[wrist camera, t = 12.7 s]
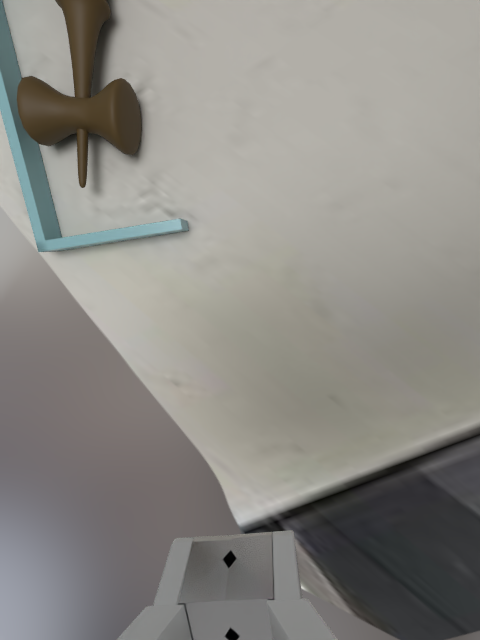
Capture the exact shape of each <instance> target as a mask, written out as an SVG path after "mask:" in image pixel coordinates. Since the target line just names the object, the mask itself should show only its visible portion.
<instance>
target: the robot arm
mask: <svg viewBox="0 0 480 640" xmlns="http://www.w3.org/2000/svg"><path fill="white" fill-rule="evenodd" d="M117 640H338V639H337V638H336V637H335V635H334V634H333V633H332V631H331V630H330V629H329V627H328V626H327V625H326V623H325V622H324V620H323V619H322V618H321V617H320V615H319V614H318V612H317V611H316V610H315V608H314V607H313V606H312V604H311V603H310V601H309V600H308V599H302V592H301V584H300V577H299V569H298V562H297V554H296V547H295V540H294V533H293V531H279V532H267V533H254V534H241V535H234V536H209V537H194V538H176V539H175V540H174V542H173V543H172V545H171V548H170V552H169V555H168V558H167V561H166V565H165V568H164V571H163V575H162V578H161V581H160V584H159V587H158V591H157V594H156V597H155V601H154V604H153V606H147V607H146V608H145V609H144V610H143V611H142V612H141V613H140V614H139V615H138V617H137V618H136V619H135V620H134V621H133V622H132V623H131V624H130V625H129V626H128V628H127V629H126V630H125V631H124V632H123V633H122V634H121V635H120V637H119V638H118V639H117Z"/></svg>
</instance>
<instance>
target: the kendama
mask: <svg viewBox="0 0 480 640" xmlns="http://www.w3.org/2000/svg"><path fill="white" fill-rule="evenodd" d="M56 2H57V4H58V5H59V6H60V7H61V8H62V10H63V13H64V16H65V21H66V25H67V31H68V38H69V44H70V52H71V60H72V68H73V79H74V90H75V97H70V96H66V95H63V94H61V93H60V92H58V91H57V90H55V89H54V88H52V87H51V86H50V85H48V84H47V83H45V82H44V81H42V80H40V79H37V78H35V77H33V76H29V77H24V78H22V79H21V81H20V83H19V85H18V89H17V106H18V113H19V116H20V119H21V122H22V125H23V128H24V129H25V130H26V132H27V133H28V135H29V136H30V137H31V138H32V139H33V140H35V141H36V142H37V143H39V144H41V145H46V146H51V145H54V144H56V143H58V142H60V141H61V140H63V139H64V138H66V137H68V136H69V135H71V134H74V133H77V155H78V176H79V184H80V186H81V187H82V188H84V187H85V185H86V179H87V161H88V135H89V133H92V134H98V135H100V136H102V137H103V138H105V139H106V140H107V141H109V142H110V143H111V144H112V145H114V146H115V147H116V148H117V149H119V150H120V151H121V152H123V153H124V154H128V155H133V154H134V153H136V152H137V150H138V147H139V144H140V139H141V130H142V129H141V114H140V107H139V103H138V100H137V97H136V94H135V92H134V90H133V89H132V87H131V85H130V84H129V83H128V82H127V81H126V80H124V79H122V78H120V79H117V80H114V81H112V82H111V83H110V84H108V85H107V86H106V87H105V88H104V89H103V90H101V91H100V92H99V93H98V94H96V95H95V96H93V97H91V86H92V76H93V68H94V60H95V53H96V47H97V41H98V36H99V32H100V29H101V26H102V24H103V23H104V22H105V21H106V20H108V19H109V18H110V14H111V11H110V8H109V5H108V3H107V1H106V0H56Z"/></svg>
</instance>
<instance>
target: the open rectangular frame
mask: <svg viewBox="0 0 480 640" xmlns="http://www.w3.org/2000/svg"><path fill="white" fill-rule="evenodd" d="M21 79H22V78H21V74H20V70H19V66H18V62H17V58H16V54H15V50H14V46H13V42H12V38H11V34H10V30H9V26H8V22H7V18H6V14H5V10H4V6H3V3H2V0H0V110H1V114H2V118H3V122H4V125H5V129H6V133H7V136H8V140H9V144H10V148H11V151H12V155H13V159H14V162H15V166H16V170H17V173H18V177H19V181H20V185H21V188H22V192H23V196H24V199H25V203H26V207H27V211H28V214H29V218H30V222H31V225H32V229H33V233H34V237H35V240H36V244H37V248H38V251H39V252H54V251H62V250H69V249H75V248H81V247H88V246H94V245H100V244H107V243H113V242H119V241H126V240H132V239H138V238H145V237H151V236H157V235H164V234H170V233H176V232H183V231H189V229H188V223H187V221H186V220H183V219H175V220H169V221H163V222H156V223H150V224H144V225H138V226H132V227H125V228H119V229H113V230H107V231H101V232H95V233H88V234H82V235H76V236H70V237H64V238H62V236H61V232H60V228H59V224H58V220H57V216H56V212H55V208H54V204H53V200H52V196H51V192H50V188H49V185H48V181H47V177H46V173H45V169H44V165H43V161H42V157H41V153H40V149H39V145H38V143H37V142H36V141H35V140H33V139H32V138H31V137H30V136H29V135H28V133H27V132H26V130H25V129H24V128H23V125H22V122H21V119H20V116H19V113H18V106H17V89H18V85H19V83H20V81H21Z"/></svg>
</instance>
